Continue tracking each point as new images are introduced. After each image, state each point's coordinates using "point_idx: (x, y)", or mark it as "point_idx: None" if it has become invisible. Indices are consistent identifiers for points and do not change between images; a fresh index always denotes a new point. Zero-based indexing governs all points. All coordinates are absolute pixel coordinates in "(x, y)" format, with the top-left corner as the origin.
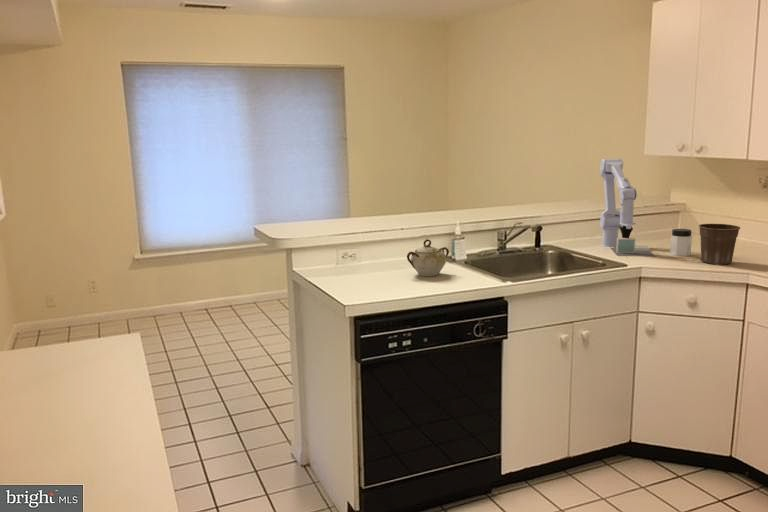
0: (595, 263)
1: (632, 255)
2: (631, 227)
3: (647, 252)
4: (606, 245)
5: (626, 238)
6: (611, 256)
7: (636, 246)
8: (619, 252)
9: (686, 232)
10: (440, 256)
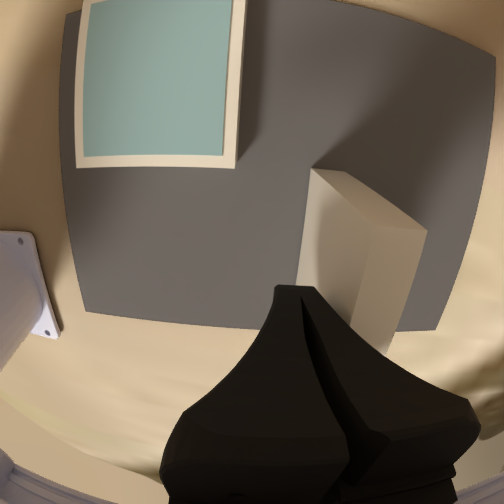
0: (498, 402)
1: (447, 227)
2: (342, 459)
3: (311, 31)
4: (38, 320)
5: (381, 351)
6: (402, 353)
7: (140, 109)
8: None
9: None
10: None
